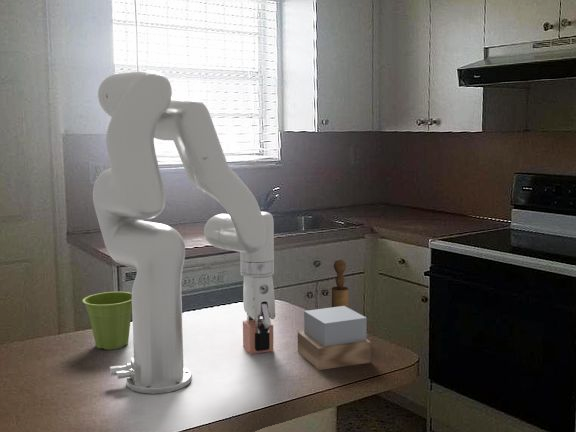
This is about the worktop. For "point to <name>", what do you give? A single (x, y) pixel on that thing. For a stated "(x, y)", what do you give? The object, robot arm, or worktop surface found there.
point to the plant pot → (110, 318)
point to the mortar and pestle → (339, 286)
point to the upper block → (335, 325)
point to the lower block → (333, 352)
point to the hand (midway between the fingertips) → (258, 344)
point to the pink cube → (249, 336)
